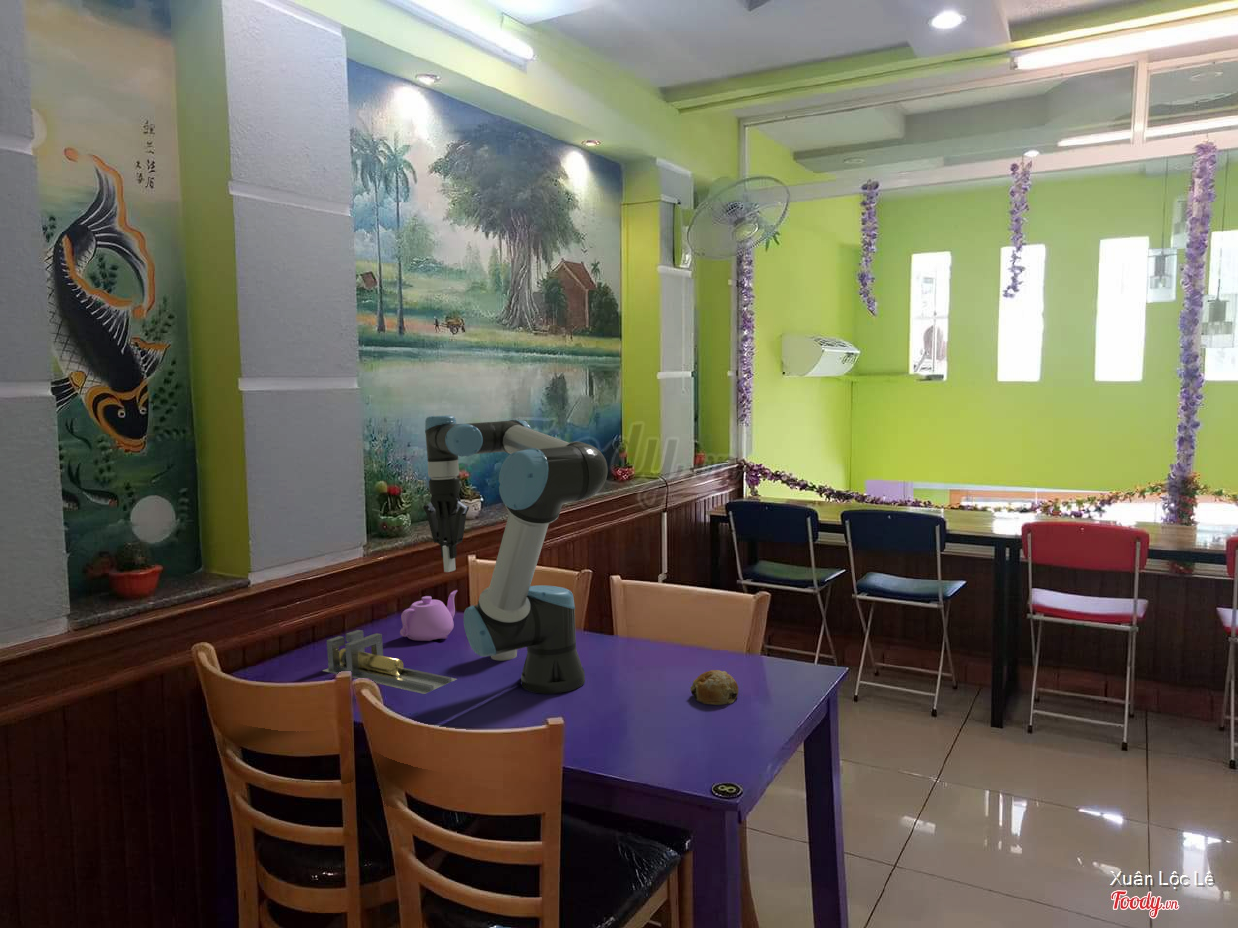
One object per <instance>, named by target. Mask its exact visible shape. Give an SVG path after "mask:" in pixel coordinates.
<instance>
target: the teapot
mask: <svg viewBox="0 0 1238 928" xmlns="http://www.w3.org/2000/svg"><path fill="white" fill-rule="evenodd" d="M457 592H458V589H455V590H453V591H451V592H450V594H449V595H448V598H447V599H448V600H447V605H445V603H444V602H443V601H442V600H439V599H432V596H431V595H425V596H422V597H421V600H417V601H414V602H413V603H412V604H411V605H410V606H409V608H406V609H405V610H404V611H402V613H401V616H400V620H401V623H402V628H401V629H400V631H399V634H400V636H401V637H407V638H408V639H409V640H412V641H416V642H417V641H419V642H420V641H422V642H432V641H433V640H438V639H439V640H446V639H448V635H449V634H450V633H451V632H452V631H453V629H454V623H455V622H454V620H453V619H454V617H455V613H456V607H455V596H456V594H457Z"/></svg>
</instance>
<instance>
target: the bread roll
mask: <svg viewBox="0 0 1238 928" xmlns="http://www.w3.org/2000/svg"><path fill="white" fill-rule="evenodd" d="M739 691H740V690H739V684H738V683H737V681H736V680H735V679H734V677H733V676H732V675H731V674H729V673H728V672H727V671H726V670H723V671H722V670H720V669H711V670H707V671H704V672H702V673H701V674H700V675H699V676H697V677H696V678H695V679H694V680H693V683H692V685H691V686H690V693H691V694H692V695H693V698H694V700H696V702H699V703H702V704H703V705H712V706H717V705H718V706H723V705H727V704H728V705H731V704H733V703H734V702H735V701H736V699H737V697H738V695H739Z"/></svg>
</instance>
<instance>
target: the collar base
mask: <svg viewBox="0 0 1238 928" xmlns="http://www.w3.org/2000/svg"><path fill="white" fill-rule="evenodd" d="M364 635H365V634H364V630H362V629H361V630H360V629H356V630H354V631H350V632H348V633H345V636H341V635H338V636H335V637H333V638H332V637H331V638H330V639H327V640H326V653H327V666H328V667H327V668H324V669H323V670H321V671H322V672H326V673H330V674H334V675H338V674H337V673H339V672H341V671H351V672H352V676H353V677H352V679H356V678H370V679H372V680H373V681H375V682H376V683H375V684H377V685H382V686H387V687H390V688H395V689H401V690H404V691H409V692H414V693H417V694H418V693H419V694H422V695H425V694H428V693H430V692H432V691H434V690H436V689H439V688H442V687H443V686H446V685H447V684H450V683H451V682H454V681H456V680H458V679H457V678H454V677H450V676H445V675H440V674H436V673H431V672H426V671H422V670H417V669H412V668H408V667H403V671H402V672H401V674H399V675H398V676H394V675H390V674H385V673H381V672H376V671H371V670H367V669H362V668H359V664H358V651H361V652H365V651H366V650H365V649H367V648H369V647H371V649H370V650H371V654H375V655H380V656H384V647H383V646H384V645H383V634H382V633H378V632H377V633H373V634H370V635H367V636H364ZM346 642H347V643H346ZM342 646H345V649H346V663H347V665H344V664H340V657H339V651H340V647H342Z"/></svg>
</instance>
